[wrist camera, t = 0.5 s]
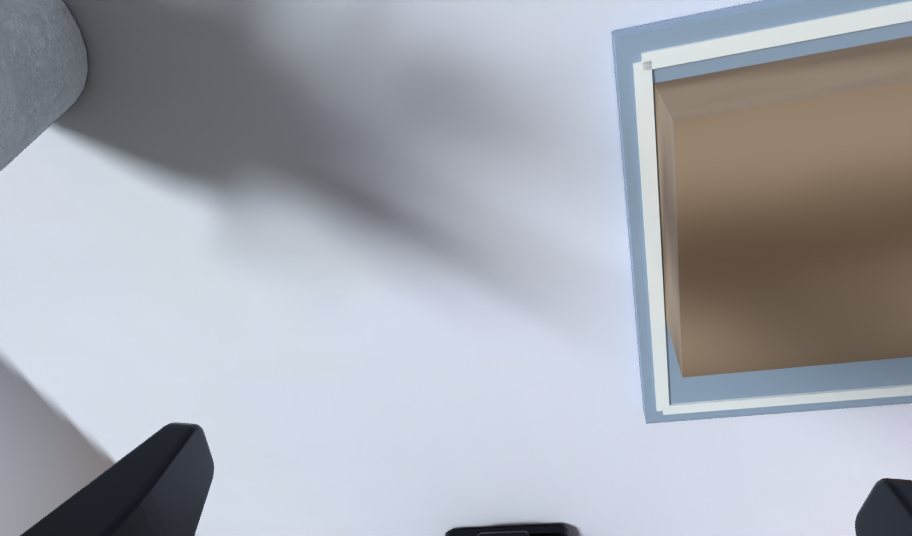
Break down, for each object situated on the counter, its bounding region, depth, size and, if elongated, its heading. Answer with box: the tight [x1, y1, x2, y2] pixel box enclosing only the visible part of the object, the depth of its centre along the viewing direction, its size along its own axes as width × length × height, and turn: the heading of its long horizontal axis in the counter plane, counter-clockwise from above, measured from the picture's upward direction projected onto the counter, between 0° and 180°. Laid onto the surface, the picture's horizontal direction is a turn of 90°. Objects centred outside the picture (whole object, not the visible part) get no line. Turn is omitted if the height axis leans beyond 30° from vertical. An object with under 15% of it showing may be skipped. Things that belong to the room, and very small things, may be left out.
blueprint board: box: [612, 0, 912, 424], centre depth 21 cm, size 16×11×1 cm
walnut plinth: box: [654, 36, 912, 378], centre depth 18 cm, size 9×9×3 cm
